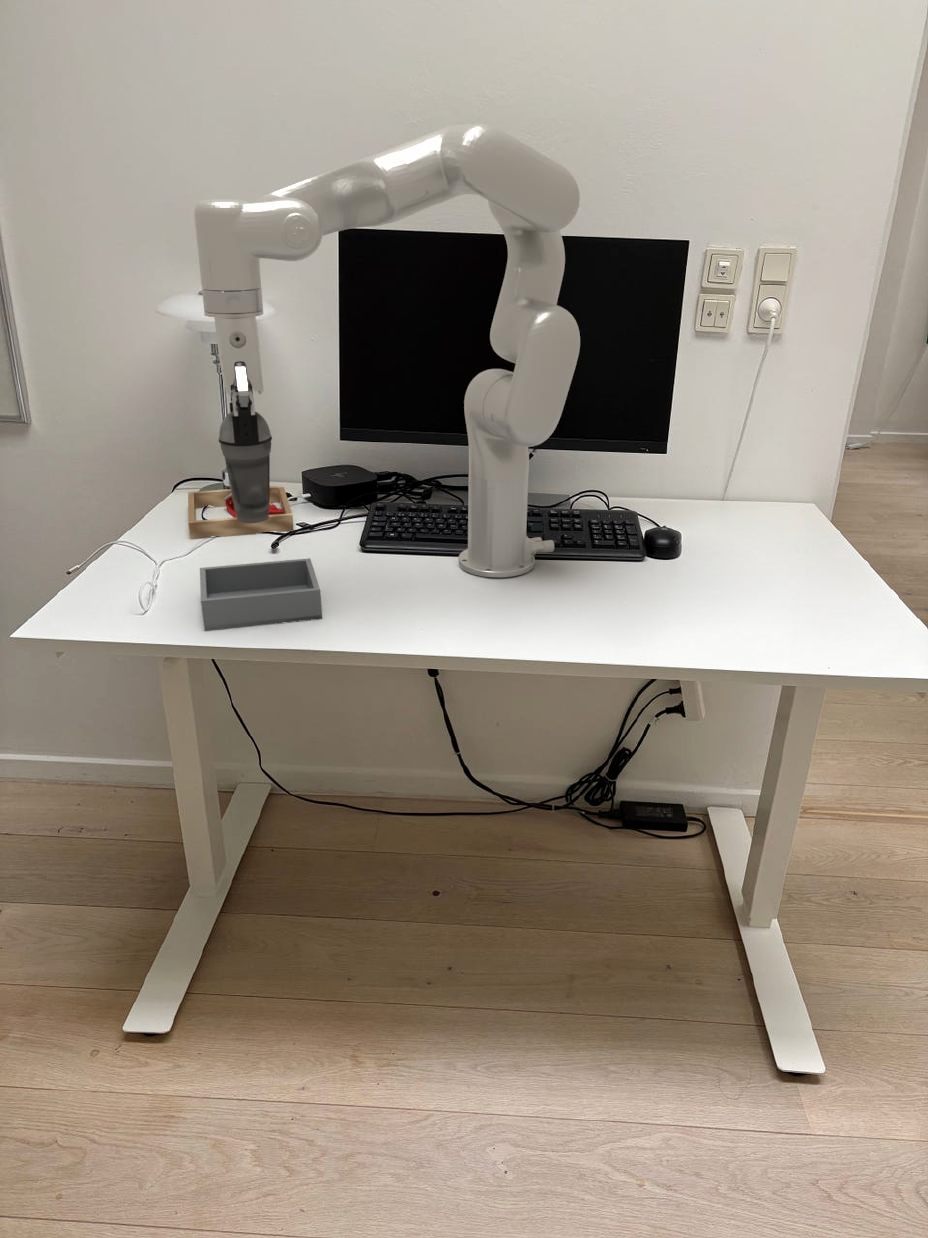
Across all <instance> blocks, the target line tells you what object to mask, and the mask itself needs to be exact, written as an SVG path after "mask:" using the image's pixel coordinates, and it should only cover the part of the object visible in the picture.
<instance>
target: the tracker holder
mask: <svg viewBox="0 0 928 1238" xmlns="http://www.w3.org/2000/svg"><path fill="white" fill-rule="evenodd" d="M223 501H226V506H225V507H226V509H227V511H228V512H229V514H230V515H231V516H232V517H233V518H237V515H236V511H235V508H234V503H233V498H232V493H231V494H230V495H228V496H227V497H225V498H224V499H223ZM230 503H231V504H230ZM276 514H283V510H282V508H278V506H276V504H275V503H270V507H269V515H276Z"/></svg>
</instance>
